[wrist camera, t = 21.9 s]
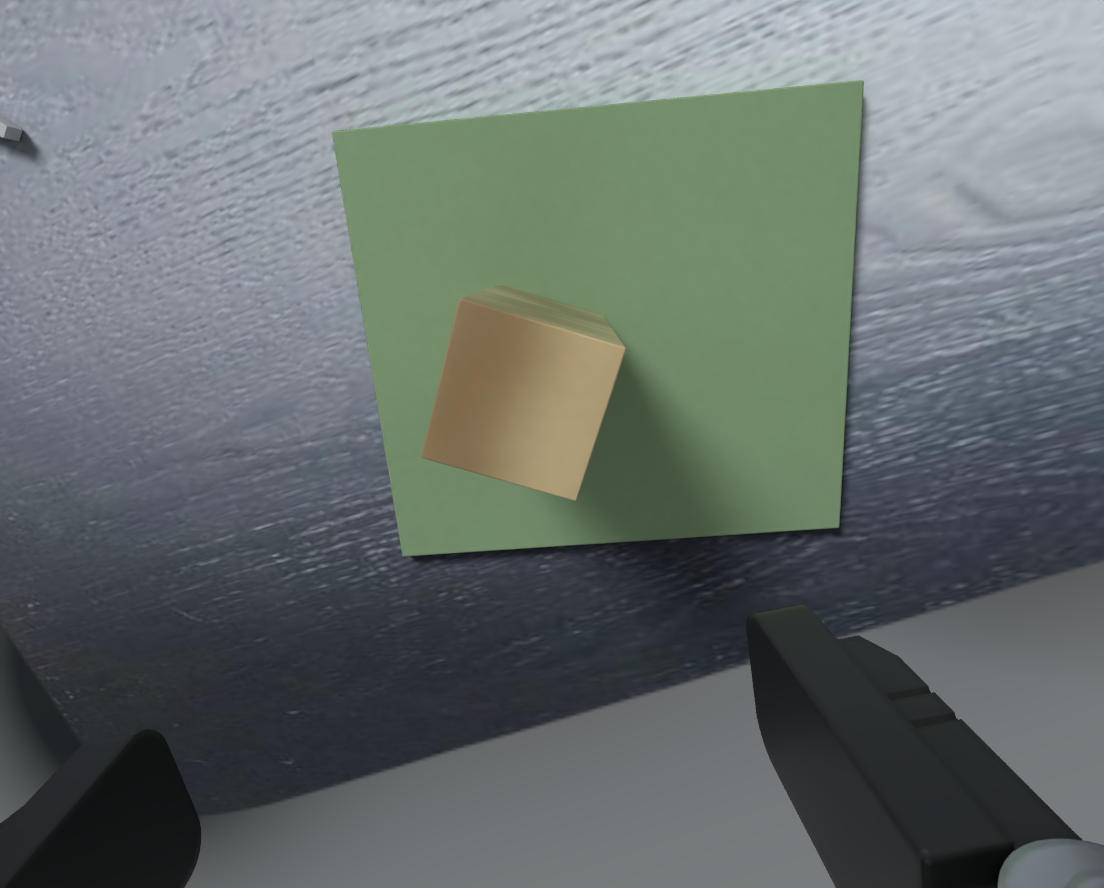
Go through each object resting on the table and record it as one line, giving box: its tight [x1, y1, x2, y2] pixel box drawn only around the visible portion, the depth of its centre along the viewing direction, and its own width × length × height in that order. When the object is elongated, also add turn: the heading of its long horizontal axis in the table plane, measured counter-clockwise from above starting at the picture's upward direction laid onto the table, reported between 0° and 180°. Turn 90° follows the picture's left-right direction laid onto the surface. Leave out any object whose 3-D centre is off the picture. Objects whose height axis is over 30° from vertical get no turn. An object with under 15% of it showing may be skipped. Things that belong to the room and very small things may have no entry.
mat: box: [332, 80, 864, 556], centre depth 26 cm, size 18×20×1 cm
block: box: [421, 284, 626, 501], centre depth 21 cm, size 4×4×10 cm
